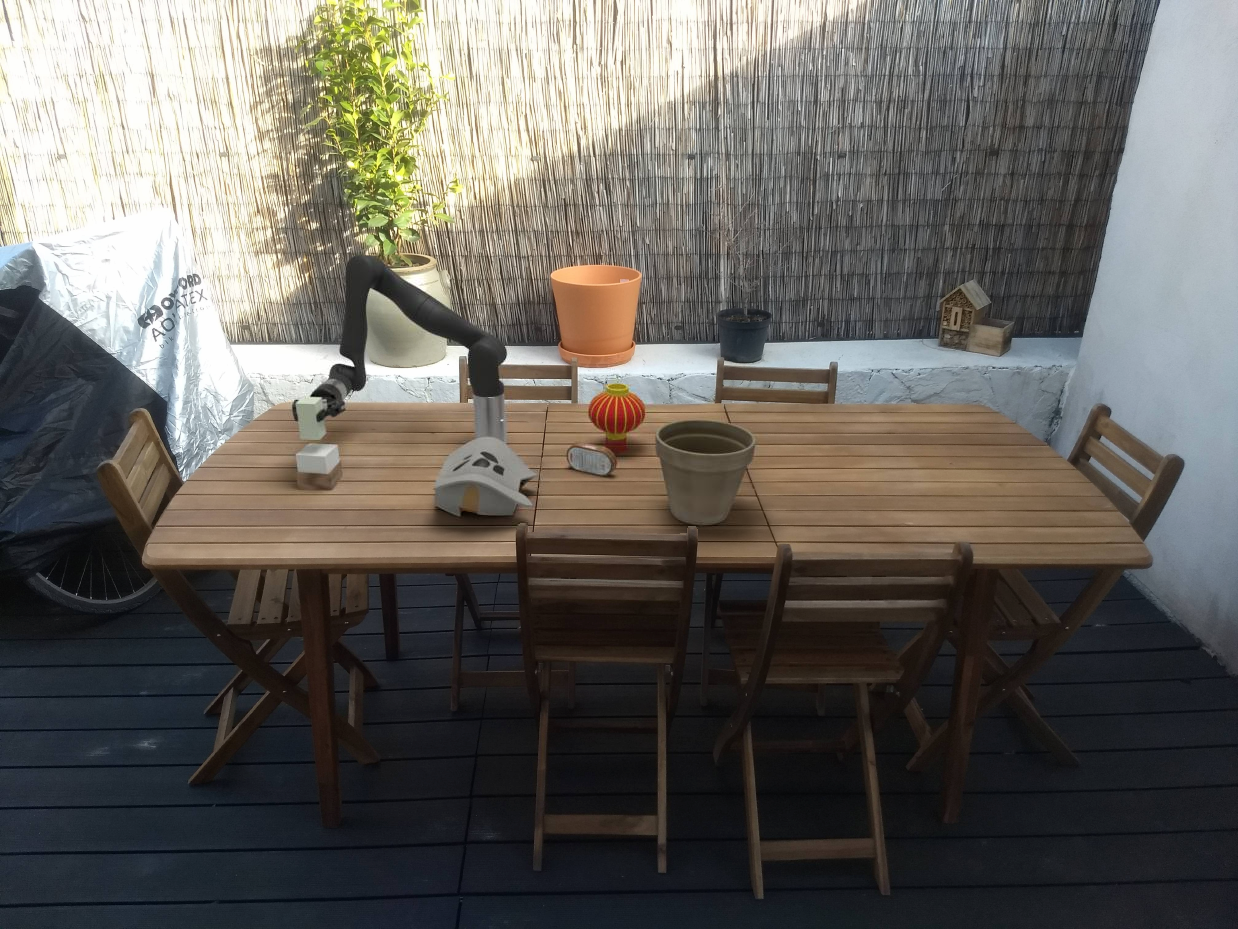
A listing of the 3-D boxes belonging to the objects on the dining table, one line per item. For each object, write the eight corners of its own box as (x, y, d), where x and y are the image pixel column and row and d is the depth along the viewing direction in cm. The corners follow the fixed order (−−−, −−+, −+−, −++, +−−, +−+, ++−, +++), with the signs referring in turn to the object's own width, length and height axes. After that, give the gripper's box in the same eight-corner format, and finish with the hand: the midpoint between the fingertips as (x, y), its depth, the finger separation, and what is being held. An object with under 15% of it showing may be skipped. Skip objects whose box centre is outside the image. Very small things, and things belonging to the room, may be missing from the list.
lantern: (578, 454, 239) (579, 357, 226) (601, 435, 253) (602, 343, 241) (631, 465, 233) (635, 366, 221) (651, 444, 248) (656, 350, 235)
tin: (617, 475, 226) (617, 448, 223) (612, 480, 224) (613, 452, 220) (570, 465, 232) (570, 438, 228) (564, 469, 229) (564, 442, 226)
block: (326, 432, 214) (321, 397, 210) (319, 439, 209) (315, 404, 205) (307, 432, 214) (302, 396, 210) (300, 439, 209) (295, 403, 205)
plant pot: (694, 483, 223) (700, 410, 214) (767, 514, 207) (776, 436, 198) (631, 510, 207) (634, 433, 198) (705, 546, 191) (711, 464, 182)
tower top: (339, 461, 219) (337, 444, 216) (327, 473, 211) (325, 456, 209) (311, 459, 219) (309, 443, 217) (298, 472, 212) (295, 454, 210)
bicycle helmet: (443, 475, 219) (452, 424, 213) (534, 495, 222) (545, 445, 216) (421, 524, 194) (430, 467, 187) (524, 545, 196) (537, 490, 190)
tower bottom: (342, 476, 221) (340, 460, 219) (332, 491, 213) (330, 474, 211) (310, 476, 221) (307, 459, 219) (298, 490, 213) (295, 473, 211)
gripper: (301, 382, 220) (277, 403, 205) (353, 384, 221) (333, 405, 205) (304, 407, 224) (281, 430, 208) (356, 409, 224) (336, 432, 208)
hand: (307, 418), depth 207 cm, fingers closed on block, 5 cm apart
